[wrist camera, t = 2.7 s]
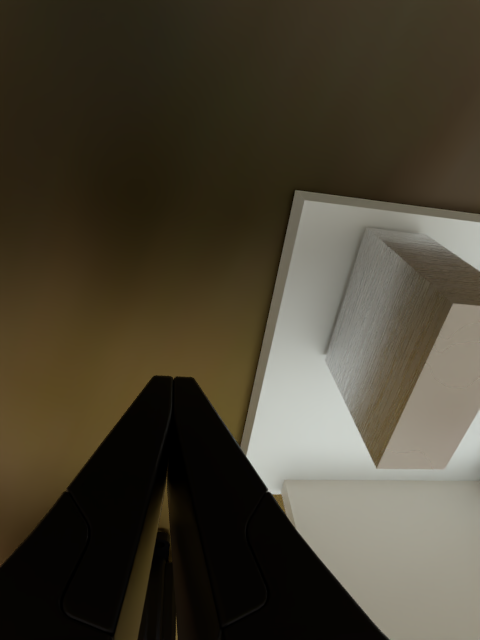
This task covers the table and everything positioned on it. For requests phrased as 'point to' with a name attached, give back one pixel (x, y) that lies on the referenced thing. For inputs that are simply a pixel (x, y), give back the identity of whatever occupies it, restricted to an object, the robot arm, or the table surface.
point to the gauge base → (347, 444)
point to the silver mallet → (409, 349)
